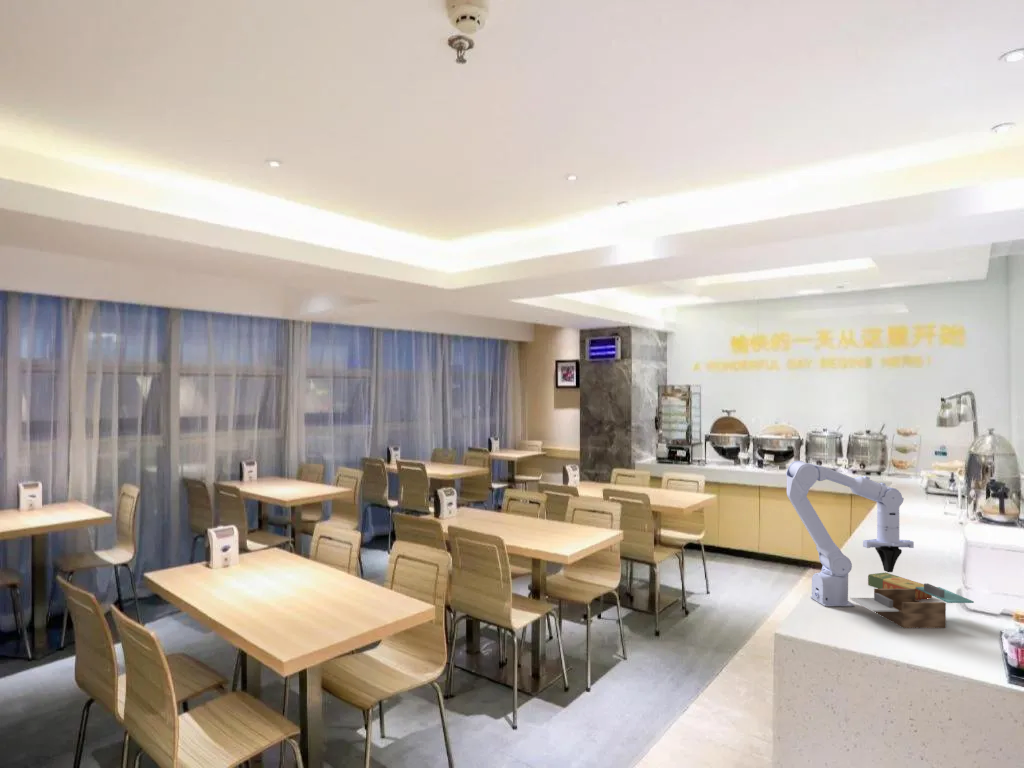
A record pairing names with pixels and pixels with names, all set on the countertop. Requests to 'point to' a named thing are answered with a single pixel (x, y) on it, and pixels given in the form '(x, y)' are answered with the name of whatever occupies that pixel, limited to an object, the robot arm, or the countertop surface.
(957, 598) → the upper lid
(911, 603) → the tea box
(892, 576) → the carton
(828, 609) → the countertop surface
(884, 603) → the lower lid
